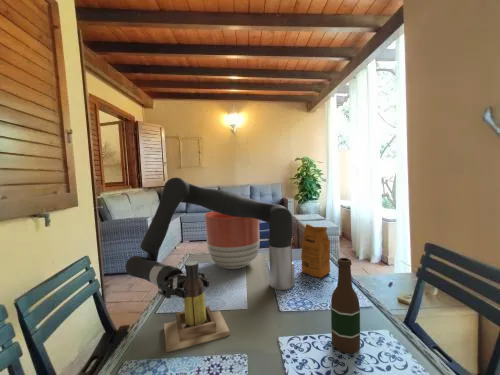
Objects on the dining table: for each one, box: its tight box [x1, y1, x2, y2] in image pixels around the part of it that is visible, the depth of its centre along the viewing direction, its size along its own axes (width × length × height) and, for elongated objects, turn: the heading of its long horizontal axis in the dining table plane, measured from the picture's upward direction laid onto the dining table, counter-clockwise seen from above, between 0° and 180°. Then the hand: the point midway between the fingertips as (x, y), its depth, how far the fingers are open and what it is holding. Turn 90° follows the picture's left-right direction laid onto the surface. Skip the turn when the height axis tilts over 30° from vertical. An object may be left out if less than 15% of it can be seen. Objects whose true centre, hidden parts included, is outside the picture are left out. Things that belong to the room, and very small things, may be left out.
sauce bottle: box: [182, 260, 206, 328], centre depth 81 cm, size 6×6×20 cm
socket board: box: [163, 305, 231, 354], centre depth 82 cm, size 18×12×4 cm, turn 110°
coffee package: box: [300, 223, 331, 279], centre depth 122 cm, size 10×12×22 cm
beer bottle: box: [330, 257, 361, 355], centre depth 73 cm, size 8×8×24 cm
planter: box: [204, 210, 260, 270], centre depth 134 cm, size 27×27×27 cm
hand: (197, 289), depth 80 cm, fingers open, 8 cm apart
